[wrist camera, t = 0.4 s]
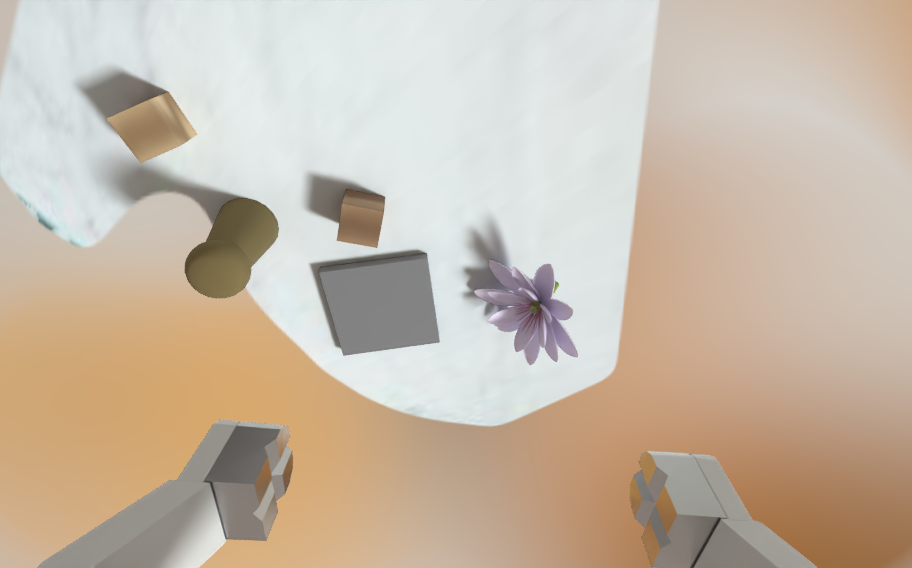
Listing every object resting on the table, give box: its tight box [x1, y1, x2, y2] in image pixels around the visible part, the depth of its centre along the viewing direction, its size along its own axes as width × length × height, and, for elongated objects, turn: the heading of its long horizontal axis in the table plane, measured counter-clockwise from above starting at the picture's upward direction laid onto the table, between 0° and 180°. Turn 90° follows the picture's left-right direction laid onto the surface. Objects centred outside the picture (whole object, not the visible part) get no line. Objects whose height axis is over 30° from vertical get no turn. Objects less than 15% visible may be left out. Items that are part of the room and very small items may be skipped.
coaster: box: [319, 253, 440, 356], centre depth 54 cm, size 12×12×1 cm
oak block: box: [107, 92, 197, 163], centre depth 41 cm, size 4×4×4 cm
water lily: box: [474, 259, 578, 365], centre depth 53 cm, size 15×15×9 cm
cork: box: [185, 198, 279, 298], centre depth 44 cm, size 6×6×11 cm
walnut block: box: [337, 189, 385, 248], centre depth 47 cm, size 4×4×4 cm
